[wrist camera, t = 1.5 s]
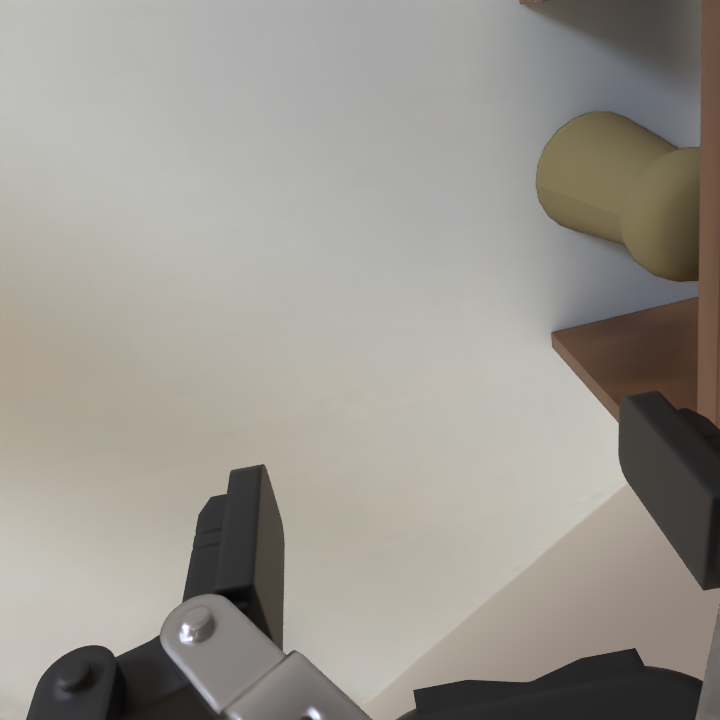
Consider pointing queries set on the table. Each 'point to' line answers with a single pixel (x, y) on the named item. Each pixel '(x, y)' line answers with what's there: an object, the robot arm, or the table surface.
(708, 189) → the spice rack
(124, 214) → the table surface
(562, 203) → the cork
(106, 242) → the table surface
